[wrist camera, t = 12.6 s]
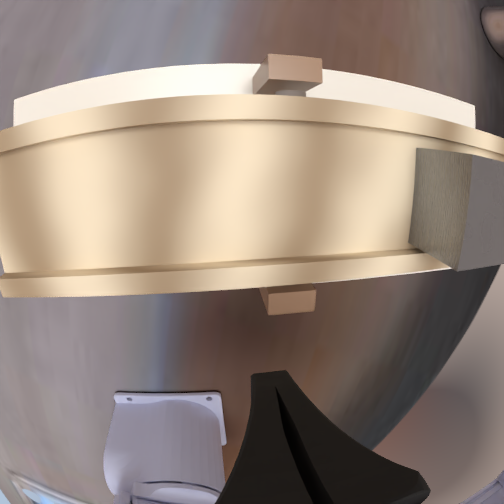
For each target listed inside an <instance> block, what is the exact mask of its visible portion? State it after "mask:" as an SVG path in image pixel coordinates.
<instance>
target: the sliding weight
mask: <svg viewBox="0 0 504 504" xmlns="http://www.w3.org/2000/svg"><path fill="white" fill-rule="evenodd" d="M408 243H409V244H411V245H413V246H415V247H416V248H418V249H420V250H422V251H423V252H425V253H427V254H429V255H430V256H432V257H434V258H436V259H437V260H439V261H441V262H442V263H444V264H446V265H447V266H449V267H451V268H452V269H454V270H456V271H463V270H469V269H475V268H482V267H488V266H493V265H499V264H504V162H502V161H498V160H494V159H490V158H486V157H482V156H477V155H473V154H467V153H460V152H452V151H444V150H436V149H426V148H416V163H415V180H414V194H413V205H412V214H411V223H410V231H409V239H408Z"/></svg>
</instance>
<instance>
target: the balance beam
mask: <svg viewBox="0 0 504 504" xmlns="http://www.w3.org/2000/svg"><path fill="white" fill-rule="evenodd" d="M416 148H426V149H436V150H444V151H452V152H460V153H467V154H473V155H477V156H482V157H486V158H490V159H494V160H498V161H502V162H504V139H503V138H501V137H498V136H495V135H492V134H489V133H486V132H483V131H480V130H477V129H474V128H471V127H467V126H464V125H461V124H457V123H453V122H450V121H446V120H442V119H438V118H434V117H430V116H426V115H422V114H418V113H413V112H408V111H404V110H399V109H393V108H388V107H382V106H377V105H370V104H364V103H357V102H350V101H342V100H334V99H324V98H314V97H306V92H303V91H297V90H282V91H277V92H275V95H262V94H217V95H193V96H177V97H165V98H154V99H145V100H137V101H129V102H122V103H115V104H109V105H103V106H97V107H92V108H86V109H81V110H76V111H72V112H67V113H63V114H58V115H54V116H50V117H46V118H42V119H38V120H34V121H31V122H27V123H24V124H20V125H17V126H14V127H11V128H7V129H4V130H1V131H0V255H1V259H2V263H3V267H4V271H5V273H4V274H3V275H2V276H1V277H0V290H1V293H2V296H3V297H79V296H114V295H140V294H162V293H181V292H199V291H215V290H230V289H244V288H258V287H271V286H283V285H295V284H306V283H317V282H327V281H338V280H347V279H357V278H367V277H376V276H385V275H393V274H402V273H410V272H418V271H426V270H434V269H441V268H449V266H447V265H446V264H444V263H442V262H441V261H439V260H437V259H436V258H434V257H432V256H430V255H429V254H427V253H425V252H423V251H422V250H420V249H418V248H416V247H415V246H413V245H411V244H409V243H408V239H409V231H410V223H411V214H412V205H413V194H414V180H415V163H416Z"/></svg>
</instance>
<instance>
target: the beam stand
mask: <svg viewBox="0 0 504 504" xmlns="http://www.w3.org/2000/svg"><path fill="white" fill-rule="evenodd" d="M282 90H297V91H303V92H306V97H314V98H324V99H334V100H342V101H350V102H357V103H364V104H370V105H377V106H382V107H388V108H393V109H399V110H404V111H408V112H413V113H418V114H422V115H426V116H430V117H434V118H438V119H442V120H446V121H450V122H453V123H457V124H461V125H464V126H467V127H471V128H474V129H475V106H474V105H471V104H468V103H465V102H462V101H460V100H457V99H454V98H451V97H448V96H445V95H441V94H438V93H435V92H431V91H428V90H425V89H421V88H417V87H413V86H410V85H406V84H402V83H397V82H393V81H389V80H384V79H379V78H375V77H369V76H364V75H359V74H353V73H347V72H340V71H333V70H326V69H322V59H320V58H312V57H303V56H292V55H279V54H268V55H267V57H266V58H265V59H264V61H263V62H262V64H201V65H184V66H171V67H161V68H152V69H143V70H136V71H129V72H123V73H117V74H111V75H105V76H100V77H95V78H90V79H86V80H81V81H77V82H73V83H69V84H65V85H61V86H57V87H53V88H50V89H46V90H43V91H40V92H36V93H33V94H30V95H27V96H24V97H21V98H18V99H15V100H14V126H17V125H20V124H24V123H27V122H31V121H34V120H38V119H42V118H46V117H50V116H54V115H58V114H63V113H67V112H72V111H76V110H81V109H86V108H92V107H97V106H103V105H109V104H115V103H122V102H129V101H137V100H145V99H154V98H165V97H177V96H193V95H217V94H262V95H275V92H277V91H282ZM444 269H451V267H449V268H441V269H434V270H426V271H418V272H410V273H402V274H411V273H419V272H428V271H436V270H444ZM402 274H393V275H402ZM393 275H385V276H393ZM376 277H383V276H376ZM367 278H374V277H367ZM357 279H364V278H357ZM347 280H354V279H347ZM338 281H343V280H338ZM327 282H333V281H327ZM317 283H321V282H317ZM259 290H260V293H261V296H262V299H263V302H264V305H265V307H266V310H267V313H268V315H278V314H289V313H299V312H309V311H314V310H315V299H316V289H315V287H314V286H313V285H312V283H306V284H295V285H283V286H271V287H259Z"/></svg>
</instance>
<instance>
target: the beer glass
mask: <svg viewBox="0 0 504 504" xmlns="http://www.w3.org/2000/svg"><path fill="white" fill-rule="evenodd" d="M481 22H482V26H483V29H484V32H485V34H486V36H487V38H488V40H489V42H490V44H491V45H492V47H493V48H494V50H495V51H496V52H497V53H498V54H499V55H500V56H501V57H502V58H504V6H489V7H485V8H483V9H482V12H481Z"/></svg>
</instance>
